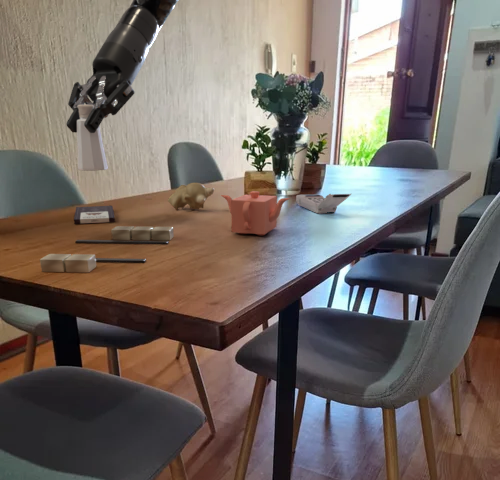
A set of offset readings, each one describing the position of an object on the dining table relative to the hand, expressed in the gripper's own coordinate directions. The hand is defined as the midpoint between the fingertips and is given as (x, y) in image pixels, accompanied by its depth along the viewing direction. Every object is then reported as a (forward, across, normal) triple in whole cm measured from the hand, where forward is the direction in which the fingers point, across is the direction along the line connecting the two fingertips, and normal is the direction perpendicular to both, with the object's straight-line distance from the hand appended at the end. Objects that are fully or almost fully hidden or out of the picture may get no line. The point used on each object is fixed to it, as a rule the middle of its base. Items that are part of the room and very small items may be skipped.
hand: (80, 128), depth 90 cm
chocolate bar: (0, -21, +29) cm, 36 cm away
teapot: (-2, +22, +32) cm, 39 cm away
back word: (+11, +4, +18) cm, 21 cm away
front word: (+23, +13, +6) cm, 27 cm away
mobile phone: (-25, +23, +54) cm, 64 cm away
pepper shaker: (+4, 0, +6) cm, 7 cm away
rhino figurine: (-13, -6, +43) cm, 45 cm away
